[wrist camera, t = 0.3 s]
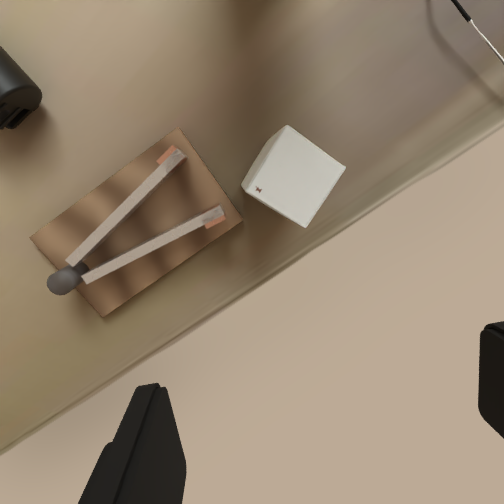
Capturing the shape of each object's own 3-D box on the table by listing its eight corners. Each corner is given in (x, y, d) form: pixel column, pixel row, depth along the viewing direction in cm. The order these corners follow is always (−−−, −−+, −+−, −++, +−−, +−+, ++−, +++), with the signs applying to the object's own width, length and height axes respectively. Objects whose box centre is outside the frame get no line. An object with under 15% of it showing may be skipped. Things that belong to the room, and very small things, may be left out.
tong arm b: (100, 278, 42) (89, 288, 39) (93, 267, 42) (81, 276, 38) (226, 214, 41) (226, 218, 38) (220, 202, 41) (219, 205, 37)
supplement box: (284, 214, 44) (304, 232, 31) (239, 184, 42) (242, 191, 30) (315, 168, 42) (349, 167, 30) (269, 136, 41) (285, 122, 29)
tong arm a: (85, 259, 41) (73, 267, 38) (74, 249, 41) (60, 256, 38) (188, 157, 39) (184, 156, 36) (178, 146, 39) (173, 144, 35)
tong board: (106, 312, 46) (87, 335, 39) (36, 235, 42) (1, 246, 36) (242, 218, 43) (244, 226, 37) (179, 128, 40) (170, 120, 34)
